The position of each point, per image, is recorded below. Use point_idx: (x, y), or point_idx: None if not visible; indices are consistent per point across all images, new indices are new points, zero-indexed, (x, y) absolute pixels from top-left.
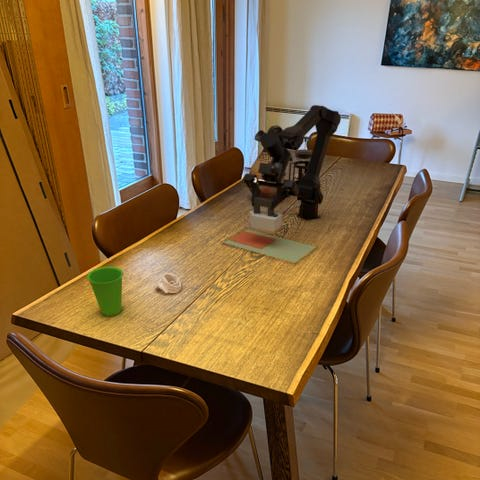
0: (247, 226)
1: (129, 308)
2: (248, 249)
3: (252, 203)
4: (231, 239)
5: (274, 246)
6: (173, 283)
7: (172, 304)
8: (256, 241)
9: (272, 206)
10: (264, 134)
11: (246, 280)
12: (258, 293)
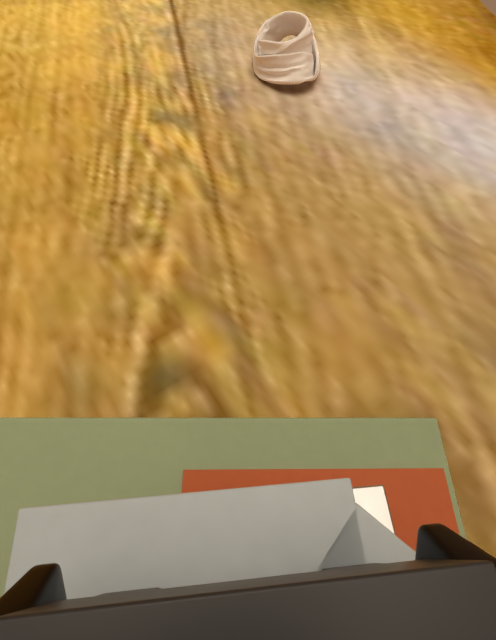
0: (355, 488)
1: (293, 3)
2: (252, 418)
3: (447, 535)
4: (435, 479)
5: None
6: (263, 31)
7: (222, 36)
8: None
9: (7, 593)
10: None
11: (101, 188)
12: (20, 146)
